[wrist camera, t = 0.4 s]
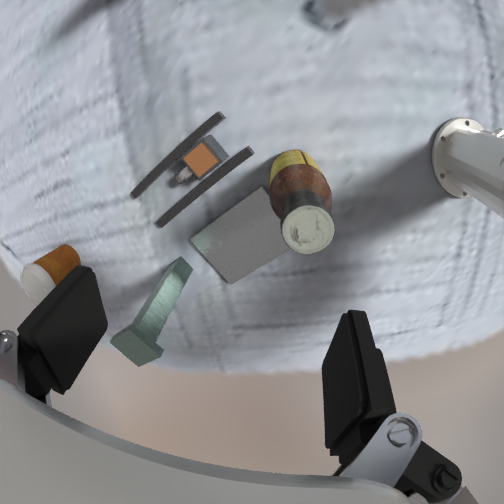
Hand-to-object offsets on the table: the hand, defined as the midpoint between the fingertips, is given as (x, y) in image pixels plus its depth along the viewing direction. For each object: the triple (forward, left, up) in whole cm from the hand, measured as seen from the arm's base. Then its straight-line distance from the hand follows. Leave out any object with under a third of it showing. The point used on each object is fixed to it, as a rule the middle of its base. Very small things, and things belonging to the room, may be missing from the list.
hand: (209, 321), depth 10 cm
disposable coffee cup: (+43, -10, -32) cm, 55 cm away
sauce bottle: (-2, +4, -32) cm, 32 cm away
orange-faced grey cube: (+8, -5, -31) cm, 33 cm away
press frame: (+13, +2, -32) cm, 34 cm away
